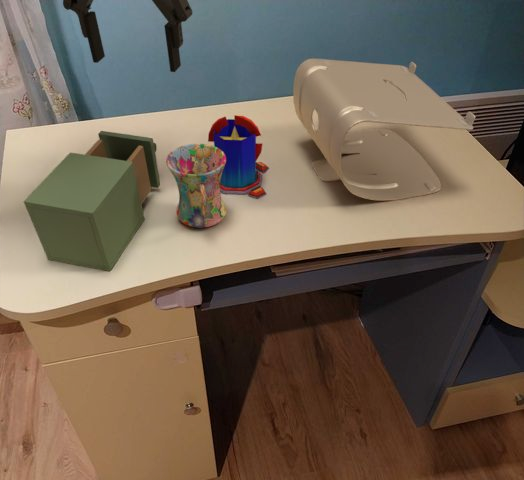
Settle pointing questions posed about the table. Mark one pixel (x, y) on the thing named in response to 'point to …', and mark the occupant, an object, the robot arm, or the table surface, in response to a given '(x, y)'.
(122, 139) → the drawer
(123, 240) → the cabinet
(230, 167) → the fantasy tower
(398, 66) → the laptop stand
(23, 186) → the table surface
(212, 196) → the mug
